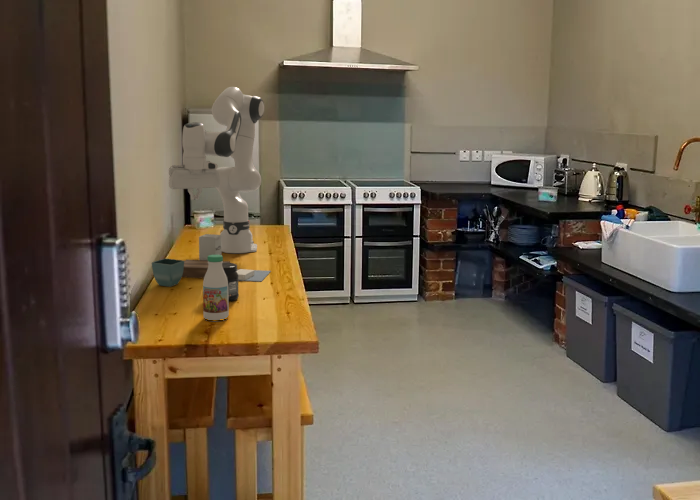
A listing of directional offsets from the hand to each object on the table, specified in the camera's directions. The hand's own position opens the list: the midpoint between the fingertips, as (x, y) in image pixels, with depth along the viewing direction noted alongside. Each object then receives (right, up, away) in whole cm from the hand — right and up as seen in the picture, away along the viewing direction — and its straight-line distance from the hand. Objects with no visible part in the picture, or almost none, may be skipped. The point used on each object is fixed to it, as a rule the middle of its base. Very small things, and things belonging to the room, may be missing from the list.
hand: (195, 199), depth 272 cm
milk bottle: (+20, -42, -58) cm, 74 cm away
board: (+3, -30, +1) cm, 30 cm away
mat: (+21, -30, 0) cm, 37 cm away
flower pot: (-6, -33, -18) cm, 38 cm away
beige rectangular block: (+20, -29, -4) cm, 35 cm away
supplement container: (+18, -37, -35) cm, 54 cm away
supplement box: (+3, -27, +18) cm, 32 cm away
